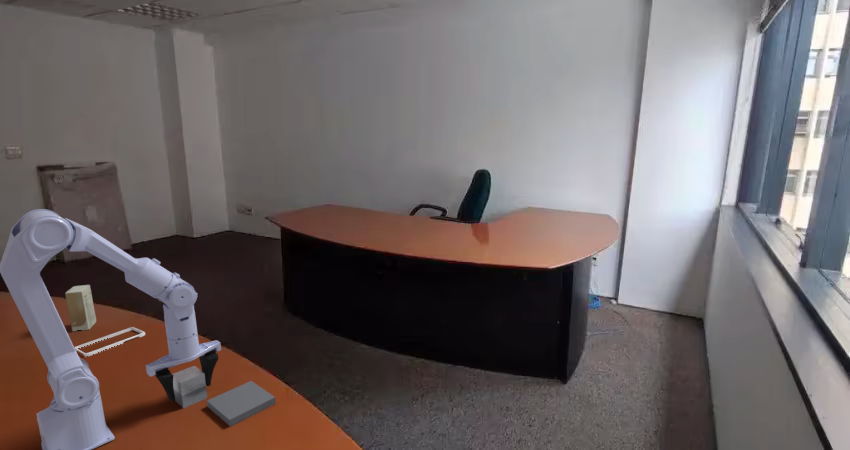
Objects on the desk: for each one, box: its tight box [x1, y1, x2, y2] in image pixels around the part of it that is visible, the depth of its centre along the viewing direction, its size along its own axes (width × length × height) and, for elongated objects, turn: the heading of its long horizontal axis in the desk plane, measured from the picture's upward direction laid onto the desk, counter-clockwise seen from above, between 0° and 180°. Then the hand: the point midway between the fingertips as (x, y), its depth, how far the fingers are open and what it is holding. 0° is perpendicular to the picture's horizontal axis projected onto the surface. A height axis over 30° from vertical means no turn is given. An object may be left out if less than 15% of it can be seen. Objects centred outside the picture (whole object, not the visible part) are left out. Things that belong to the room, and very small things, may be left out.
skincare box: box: [64, 284, 97, 332], centre depth 134 cm, size 6×4×12 cm
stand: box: [206, 380, 277, 427], centre depth 96 cm, size 10×10×2 cm
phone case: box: [74, 326, 146, 358], centre depth 125 cm, size 7×1×15 cm
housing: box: [171, 365, 208, 409], centre depth 98 cm, size 5×5×6 cm
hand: (189, 391), depth 98 cm, fingers open, 7 cm apart
